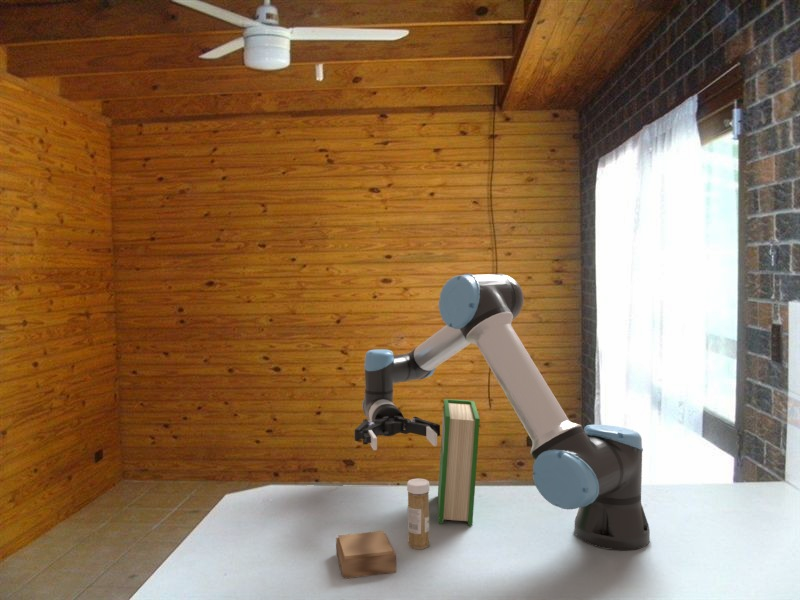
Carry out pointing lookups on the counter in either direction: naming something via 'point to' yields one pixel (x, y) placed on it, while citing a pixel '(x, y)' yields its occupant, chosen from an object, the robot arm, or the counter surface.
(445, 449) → the hardback book
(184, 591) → the counter surface
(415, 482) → the sprinkles bottle
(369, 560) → the walnut base
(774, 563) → the counter surface
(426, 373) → the robot arm
